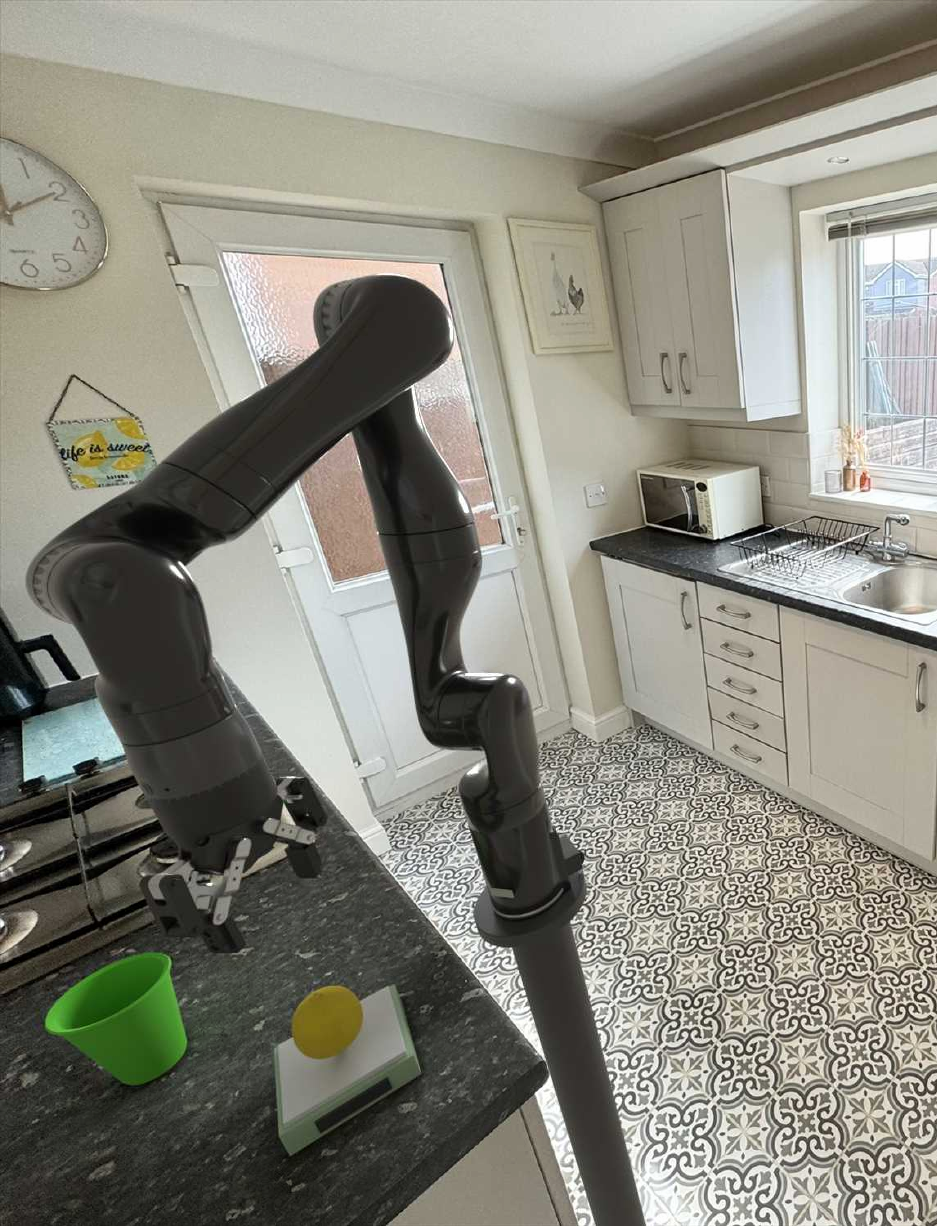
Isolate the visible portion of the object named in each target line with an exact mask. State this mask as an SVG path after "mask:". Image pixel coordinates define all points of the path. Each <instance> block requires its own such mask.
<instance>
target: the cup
mask: <svg viewBox="0 0 937 1226" xmlns="http://www.w3.org/2000/svg"><path fill="white" fill-rule="evenodd" d="M172 963H173V962H172V960H171V958H170V956H168V955H167V954H165V953H161V952H156V951H154V952H153V951H152V952H143V953H138V954H135V955H130V956H128V957H124V958H122V959H119V960H117V961H115V962H112V963H111V964H110V963H109V964H108V965H106V966H104V967H101V968H100V969H99V970H96V971H95V972H93V973H91V974H89V975H88V976H86V977H85V978H84V979H82V980H80V981H79V982H77V983H76V984H75V985H74V986H72V987H71V988H70V989H68V990H67V991H66V992H65V993H64V994H62V995H61V997H60V998H58V1000H57V1001H56V1002H54V1004H53V1005H52V1006H51V1008H50V1009H49V1010H48V1012H47V1014H46V1018H45V1019H44V1030H46V1031H47V1033H49V1034H50V1035H55V1036H61V1037H62V1038H64V1039H65V1040H67V1041H68V1042H69V1043H70V1044H71V1045H73V1046H74V1047H75V1048H76V1049H78V1050H79V1051H80V1052H81V1053H83V1054H85V1055H86V1056H87V1057H88V1058H90V1059H91V1060H92V1061H93V1062H95V1063H96V1064H97V1065H99V1066H100V1067H101V1068H103V1069H104V1070H105V1071H106V1072H108V1073H109V1074H110V1075H111V1076H113V1077H114V1078H116V1079H117V1080H118V1081H119V1082H120V1083H122V1084H124V1085H128V1086H139V1085H143V1084H146V1083H149V1082H150V1081H153V1080H155V1079H157V1078H159V1077H160V1076H162V1075H163V1074H165V1073H166V1072H168V1071H169V1070H170V1069H172V1067H174V1066H175V1065H176V1064H177V1063H178V1062H179V1061H180V1060H181V1058H182V1057H183V1055H184V1054H185V1052H186V1050H187V1044H188V1039H187V1036H186V1031H185V1027H184V1024H183V1019H182V1015H181V1012H180V1008H179V1003H178V1000H177V997H176V992H175V989H174V985H173V982H172V977H171V973H170V971H171V968H172Z"/></svg>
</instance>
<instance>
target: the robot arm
mask: <svg viewBox="0 0 937 1226" xmlns="http://www.w3.org/2000/svg"><path fill="white" fill-rule="evenodd" d="M312 310H313V311H312V323H313V331H314V336H315V339H316V341H317V345H318V347H319V348H317V349H316V350H314V352H313V353H312V354H310V355H309V356H308V357H307V358H305V360H303V361H301V363H299V364H298V365H296V366H295V367H293V368H292V369H290V370H288V371H287V372H286V373H285V374H283V375H281V376H280V377H279V378H277V379H276V380H274V381H272V382H271V383H269V384H267V385H266V386H263V387H262V388H261V389H259V390H257V391H256V392H254V393H252V394H250V395H249V396H247V397H245V398H244V399H241V400H240V401H239V402H237V403H236V404H234V405H232V406H229V408H227V409H226V410H224V411H222V412H221V413H220V414H218V415H216V416H215V417H213V418H212V419H210V421H208V422H206V423H205V424H204V425H203V426H201V427H200V428H199V429H198V430H197V431H195V432H194V433H192V435H190V436H189V437H188V438H187V439H186V440H185V441H184V442H182V443H181V444H180V445H179V446H178V447H176V448H175V449H174V450H173V451H172V452H170V453H169V454H168V455H167V456H166V457H165V458H164V459H163V460H161V461H160V463H157V465H156V466H154V467H153V469H152V470H150V471H149V472H148V474H147V475H146V476H145V477H144V478H143V479H141V480H140V481H139V482H138V483H136V484H134V485H133V486H132V487H130V488H129V489H127V490H125V491H123V492H122V493H120V494H118V495H116V496H115V497H113V498H111V499H110V500H108V501H107V502H105V503H103V504H101V505H100V506H99V507H97V508H95V509H93V510H92V511H91V512H89V513H88V514H86V515H84V516H83V517H81V518H80V519H78V520H77V521H75V522H74V523H72V524H70V525H69V526H68V527H66V528H64V529H63V530H62V531H61V532H60V533H58V534H57V535H56V536H53V538H52V539H50V540H49V541H48V543H46V544H45V545H44V546H43V547H42V548H41V549H40V550H39V551H38V552H37V553H36V555H35V556H34V557H33V558H32V559H31V561H30V563H29V564H28V567H27V569H26V573H25V576H24V577H25V579H24V583H25V584H24V586H25V589H26V592H27V595H28V596H29V599H30V600H31V601H32V602H33V604H34V605H35V606H36V607H37V608H38V609H40V610H41V611H42V612H43V613H45V614H46V615H48V616H50V617H52V618H54V619H56V620H58V621H61V622H64V623H66V624H70V625H72V626H73V628H74V629H75V630H76V631H77V633H78V635H79V636H80V638H81V639H82V641H83V643H84V645H85V647H86V649H87V651H88V653H89V655H90V658H91V660H92V661H93V663H94V666H95V668H96V669H97V672H98V675H97V676H96V677H95V681H94V691H95V694H96V698H97V700H98V703H99V704H100V706H101V709H102V711H103V712H104V714H105V716H106V719H107V720H108V723H110V726H111V727H112V728H113V731H114V733H115V734H116V737H117V738H118V740H119V741H120V744H121V747H122V749H123V752H124V754H125V758H126V761H127V764H128V767H129V770H130V771H131V773H132V775H133V777H134V778H135V780H136V782H137V784H138V786H139V788H140V790H141V791H142V793H143V795H144V797H145V799H146V800H147V803H148V804H149V806H150V808H151V810H152V812H153V813H154V815H155V817H156V818H157V820H158V823H159V824H160V826H161V828H162V830H163V831H164V833H165V834H166V835H167V836H168V837H169V838H170V839H171V840H172V841H173V842H174V843H175V844H176V846H177V848H178V857H177V858H178V859H177V861H176V862H175V863H173V864H172V865H170V866H169V867H167V868H166V869H165V870H164V871H162V872H160V873H148V874H146V875H144V876H143V877H142V878H141V879H140V881H139V884H138V886H139V890H140V891H141V893H142V896H143V898H144V899H145V901H146V904H147V905H148V907H149V910H150V912H151V914H152V916H153V918H154V920H155V923H156V924H157V926H158V928H159V930H160V932H161V934H162V936H163V937H164V938H189V939H191V938H193V939H194V938H197V937H199V936H200V937H201V939H202V941H203V942H204V944H205V946H206V947H207V951H209V952H211V953H213V954H239V953H240V952H241V951H242V950H243V949H244V948H245V947H246V946H247V942H246V941H245V939H244V936H243V935H242V933H241V930H240V929H239V927H238V926H237V924H236V922H235V920H234V918H233V916H232V915H229V912H230V906H231V902H232V898H233V896H234V895H235V894H236V893H237V892H239V889H240V886H241V881H242V876H243V874H245V873H247V872H248V871H249V870H250V869H252V867H253V866H254V865H255V864H256V862H257V861H258V860H259V859H260V858H262V857H264V856H266V855H268V854H269V853H270V852H272V851H273V850H274V849H275V846H274V845H275V843H279V844H282V845H283V844H284V845H287V846H286V847H285V848H284V849H283V851H284V852H285V855H286V857H287V859H288V861H289V863H290V865H291V868H292V870H293V871H294V874H295V876H296V877H297V878H299V879H309V880H310V879H311V880H313V879H314V880H315V879H316V878H317V877H319V876H320V875H321V874H322V872H323V869H322V867H321V866H322V865H323V863H322V857H321V856H320V853H319V851H318V848H317V846H316V844H315V840H316V835H317V834H316V832H317V831H318V829H319V827H324V826H325V825H326V824H327V822H328V815H327V813H326V812H325V809H324V807H323V806H322V804H321V802H320V800H319V798H318V795H317V794H316V792H315V790H314V788H313V786H312V783H311V782H310V780H309V778H308V777H307V776H279V777H278V778H277V779H276V780H275V779H274V777H273V774H272V772H271V770H270V768H269V766H268V763H267V760H266V759H265V757H264V754H263V752H262V749H261V748H260V745H259V743H258V741H257V739H256V737H255V735H254V733H253V730H252V729H251V726H250V724H249V723H248V722H247V720H246V718H245V716H244V715H243V714H242V713H241V710H240V709H239V708H238V706H237V705H236V703H235V700H234V698H233V696H232V694H231V691H230V689H229V686H228V685H227V682H226V680H225V678H224V676H223V674H222V672H221V670H220V668H219V666H218V665H217V662H215V658H214V654H213V643H212V642H213V641H212V636H211V632H210V627H209V622H208V617H207V611H206V607H205V604H204V601H203V597H202V595H201V593H200V590H199V588H198V585H197V584H196V582H195V580H194V579H193V577H192V575H191V574H190V571H188V569H187V568H186V567H187V566H188V565H189V564H191V563H192V562H193V561H194V560H195V559H197V558H198V557H199V556H200V555H202V554H203V553H204V552H205V551H207V550H209V549H211V548H214V547H216V546H222V545H227V544H230V543H232V542H234V541H236V540H238V539H240V538H241V537H242V536H243V535H244V534H246V533H247V532H248V531H249V530H251V529H252V528H253V527H254V526H255V524H257V523H258V522H259V521H260V520H261V519H262V518H263V517H264V516H265V515H266V514H267V513H268V512H269V511H270V510H271V509H272V508H273V507H274V506H275V505H276V504H277V503H278V502H279V501H280V500H281V499H282V498H283V497H284V496H285V495H286V494H287V493H288V492H289V491H290V490H291V489H292V488H293V486H295V485H296V483H298V482H299V481H300V480H301V479H302V477H304V475H306V474H307V472H308V471H309V470H311V469H312V468H313V467H314V466H315V465H316V464H317V463H318V462H319V461H320V460H321V459H322V458H324V457H325V455H326V454H328V453H329V452H330V451H331V450H332V449H333V448H334V447H335V446H336V445H338V444H339V443H340V442H341V441H342V440H343V439H345V438H346V437H347V436H348V435H349V434H350V433H351V436H352V440H353V443H354V447H355V451H356V455H357V460H358V463H359V467H360V470H361V474H362V478H363V481H364V485H365V488H366V492H367V496H368V499H369V503H370V506H371V511H372V514H373V520H374V524H375V529H376V534H377V537H378V541H379V545H380V548H381V553H382V556H383V560H384V563H385V566H386V569H387V573H388V576H389V579H390V582H391V586H392V589H393V593H394V597H395V602H396V605H397V609H398V615H399V619H400V622H401V627H402V631H403V632H402V633H403V636H404V641H405V645H406V652H407V657H408V665H409V673H410V679H411V687H412V693H413V699H414V707H415V713H416V716H417V721H418V724H419V728H420V730H421V732H422V734H423V737H424V738H425V740H426V741H427V742H428V743H429V744H430V745H431V746H433V747H434V748H437V749H440V750H445V751H461V752H462V751H465V752H467V751H468V752H483V753H484V756H485V758H484V759H481V760H479V761H478V762H476V763H475V764H473V765H472V766H470V768H467V770H466V771H465V772H464V773H463V774H462V775H461V777H460V778H459V781H458V784H457V793H458V797H459V801H460V803H461V806H462V810H463V813H464V816H465V820H466V823H467V826H468V829H469V833H470V836H471V839H472V843H473V846H474V849H475V852H476V855H477V859H478V862H479V865H480V870H481V872H482V876H483V878H484V881H485V885H486V886H487V888H488V892H489V895H490V900H491V904H492V908H493V911H494V913H495V914H496V916H498V917H499V918H501V919H503V920H506V921H523V920H527V919H531V918H533V917H536V916H538V915H540V914H542V913H544V912H546V911H547V910H549V909H550V908H551V907H553V906H554V905H555V904H556V903H557V902H558V901H559V900H560V899H561V897H562V896H563V894H564V893H565V892H566V891H568V890H570V889H571V888H572V887H571V883H570V878H569V876H570V875H572V874H574V873H576V872H578V871H579V870H581V869H582V870H583V869H584V867H583V864H584V862H585V859H586V856H585V853H584V851H582V850H581V849H578V848H577V847H576V846H575V844H574V843H573V842H572V840H571V839H570V837H569V836H568V835H567V834H564V835H561V836H560V834H559V832H558V830H557V829H556V828H555V826H554V825H553V822H552V819H551V813H550V810H549V806H548V801H547V798H546V794H545V791H544V786H543V782H542V777H541V773H540V757H541V756H540V745H539V740H538V735H537V730H536V723H535V717H534V712H533V707H532V701H531V698H530V694H529V692H528V689H527V687H526V685H525V684H524V682H523V681H522V680H521V679H520V678H519V677H518V676H516V675H514V674H509V673H494V672H493V673H490V672H489V673H487V672H482V673H481V672H469V671H468V670H467V667H466V665H465V661H464V656H463V650H462V644H461V627H462V624H463V620H464V617H465V615H466V612H467V610H468V607H469V605H470V603H471V600H472V598H473V596H474V594H475V591H476V589H477V586H478V583H479V581H480V577H481V575H482V574H481V572H482V569H483V555H482V550H481V544H480V540H479V535H478V531H477V525H476V521H475V517H474V513H473V509H472V506H471V504H470V502H469V500H468V497H467V495H466V493H465V492H464V490H463V488H462V486H461V485H460V483H459V481H458V480H457V478H456V477H455V475H454V474H453V472H452V470H451V469H450V467H449V466H448V464H447V463H446V462H445V460H444V459H443V457H442V456H441V454H440V452H439V451H438V450H437V448H436V446H435V445H434V443H433V441H432V439H431V438H430V435H429V434H428V431H427V428H426V425H425V423H424V419H423V416H422V413H421V408H420V404H419V400H418V395H417V391H416V390H417V389H416V384H417V383H419V382H421V381H422V380H424V379H425V378H427V377H428V376H430V375H431V374H433V373H434V372H436V371H437V370H439V369H440V368H441V367H442V366H444V365H445V364H446V362H447V360H448V359H449V357H450V356H451V353H452V350H453V347H454V343H455V329H454V323H453V320H452V317H451V314H450V312H449V310H448V309H447V306H446V305H445V303H444V302H443V301H442V298H440V297H439V296H438V295H437V294H436V293H435V291H433V289H431V288H429V287H428V286H427V285H425V284H424V283H422V282H420V281H419V280H417V279H414V278H412V277H408V276H405V275H402V274H401V275H400V274H394V273H377V274H369V275H365V276H359V277H355V278H351V279H345V280H341V281H338V282H335V283H332V284H330V285H328V286H326V287H325V288H324V289H323V290H322V291H320V293H319V294H318V295H317V298H316V300H315V302H314V305H313V309H312ZM284 806H285V807H286V808H285V809H286V810H287V812H288V814H289V816H290V817H291V819H292V821H293V823H294V824H291V823H288V822H283V821H281V819H282V814H283V809H284ZM190 875H191V877H190ZM212 875H213V876H218V877H219V876H221V877H222V880H221V882H220V883H213V882H212V881H211V876H212ZM211 898H212V902H211V905H210V901H211ZM209 907H210V908H209Z"/></svg>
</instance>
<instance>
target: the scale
mask: <svg viewBox="0 0 937 1226" xmlns="http://www.w3.org/2000/svg"><path fill="white" fill-rule="evenodd" d="M359 1001H360V1003H361V1006H362V1011H363V1022H362V1026H361V1029H360V1032H359V1033H358V1035H357V1037H356V1038H355V1040H354V1041H353V1042H352V1044H351V1045H350V1046H349V1047H347V1048H346V1049H345V1050H344V1051H342V1052H341V1053H339V1054H337V1055H335V1056H333V1057H330V1058H326V1059H313V1058H309V1057H307V1056H305V1055H304V1054H303V1053H301V1052H300V1051H299V1050H298V1048H297V1047H296V1045H295V1043H294V1040H293V1036H292V1037H290V1038H289V1039H287V1040H285V1041H283V1042H281V1043H278V1044H277V1046H276V1047H274V1048H273V1062H274V1078H275V1079H274V1080H275V1094H276V1096H275V1097H276V1108H277V1109H276V1111H277V1112H276V1114H277V1128H278V1137H279V1139H280V1142H281V1144H282V1145H283V1146H284V1148H285V1150H286V1152H287V1153H288V1155H289V1157H292V1156H293V1155H295V1154H296V1153H298V1152H299V1151H301V1150H303V1149H305V1148H306V1147H308V1146H309V1145H311V1144H312V1143H314V1142H316V1141H317V1140H318V1139H321V1138H322V1137H323V1136H325V1135H327V1134H328V1133H330V1132H332V1131H333V1130H335V1129H336V1128H338V1127H340V1126H342V1125H343V1124H344V1123H346V1122H347V1121H349V1120H351V1119H352V1118H354V1117H356V1116H357V1115H359V1114H360V1113H361V1112H363V1111H365V1110H367V1109H368V1108H370V1107H371V1106H373V1105H375V1104H377V1102H380V1101H381V1100H383V1099H384V1098H385V1097H388V1096H389V1095H390V1094H392V1093H394V1092H395V1091H397V1090H398V1089H400V1088H401V1087H403V1086H405V1085H406V1084H408V1083H410V1082H411V1081H413V1080H414V1079H416V1078H418V1077H419V1076H420V1075H422V1071H421V1066H420V1063H419V1060H418V1059H419V1058H418V1056H417V1051H416V1049H415V1045H414V1041H413V1038H412V1034H411V1030H410V1027H409V1023H408V1018H407V1016H406V1012H405V1008H404V1004H403V1002H402V999H401V997H400V994H399V991H398V989H397V986H396V984H395V983H393V984H391V985H387V986H385V987H383V988H382V989H380V990H378V991H375V992H374V993H372V994H370V995H368V996H367V997H364V998H363V999H361V1000H359Z"/></svg>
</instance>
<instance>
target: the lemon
mask: <svg viewBox="0 0 937 1226" xmlns="http://www.w3.org/2000/svg"><path fill="white" fill-rule="evenodd" d="M360 1001H361V1000H359V998H358V997H357V995H356V994H355V993H354V992H353V991H352V990H350V989H349V988H347V987H345V986H342V985H327V986H323V987H321V988H319V989H316V990H314V991H313V992H311V993H310V994H309V995H307V996H306V997H305V998H304V999H303V1000H302V1001H301V1002H300V1003H299V1005H298V1006H297V1008H296V1010H295V1012H294V1014H293V1016H292V1020H291V1021H292V1022H291V1034H292V1037H293V1040H294V1043H295V1045H296V1047H297V1048H298V1050H299V1051H300V1052H301V1053H303V1054H304V1055H305V1056H307V1057H309V1058H313V1059H326V1058H330V1057H333V1056H335V1055H337V1054H339V1053H341V1052H342V1051H344V1050H345V1049H346V1048H347V1047H349V1046H350V1045H351V1044H352V1042H353V1041H354V1040H355V1038H356V1037H357V1035H358V1033H359V1032H360V1029H361V1026H362V1022H363V1011H362V1006H361V1003H360Z"/></svg>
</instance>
